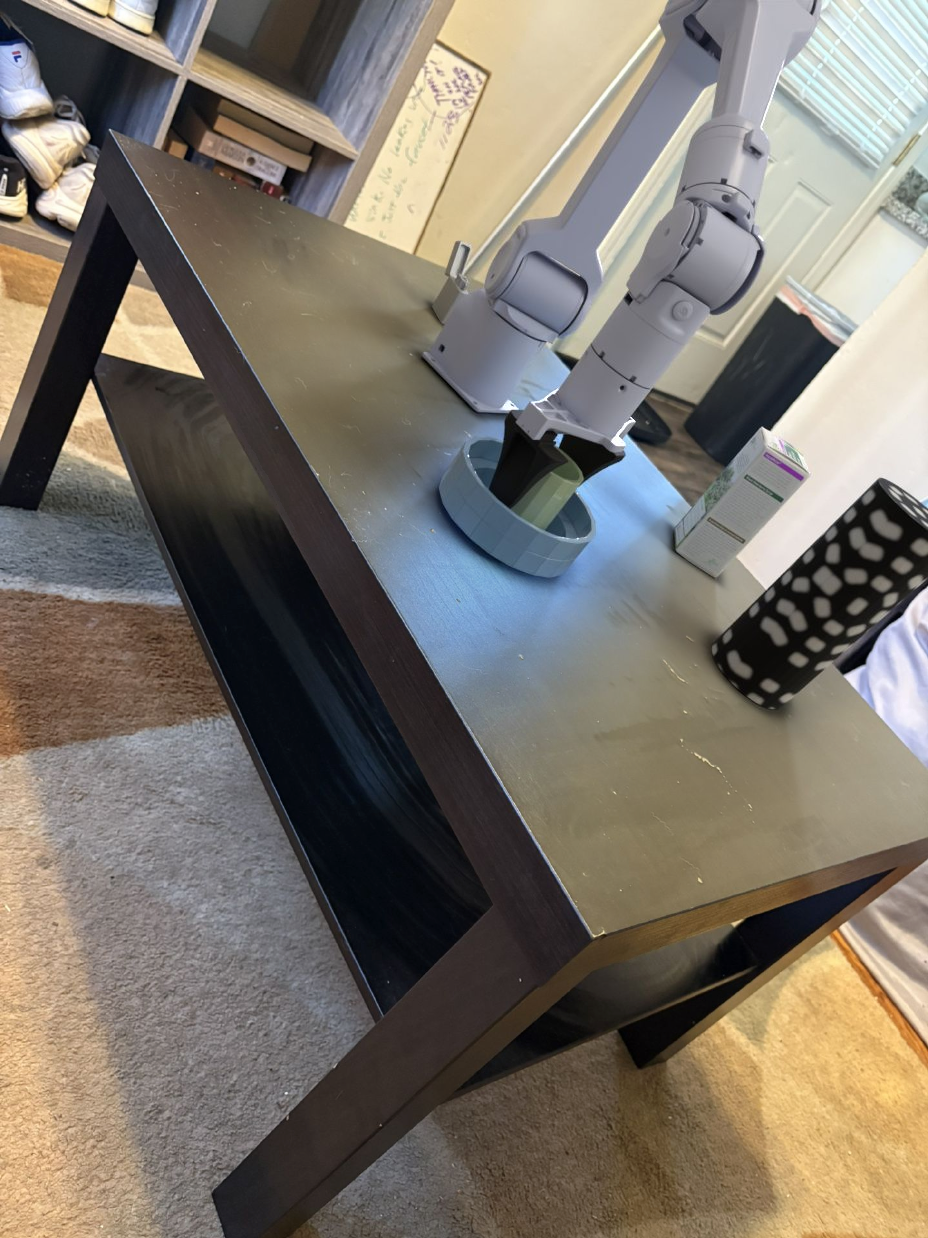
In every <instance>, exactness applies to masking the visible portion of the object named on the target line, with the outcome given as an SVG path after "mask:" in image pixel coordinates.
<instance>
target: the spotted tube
mask: <svg viewBox="0 0 928 1238" xmlns="http://www.w3.org/2000/svg"><path fill="white" fill-rule="evenodd" d="M926 580H928V507H927V506H926V505H924V504H923V503H922V502H921V501H920V500H919V499H917V498H916V497H914V496H913V495H912V494H911V493H909V492H907V490H905V489H903V488H902V487H900V486H899V485H898V484H896V483H894V482H892V481H890V480H889V479H887V478H884V477H878V478H877V479H876V480H875V481H874V482H873V483H872V484H871V485H870V486H869V487H868V488H867V489H866V490H865V491H864V492H863V493H862V494H861V495H860V496H859V497H858V498H857V499H856V500H855V501H854V502H853V503H852V504H851V505H850V506H849V507H848V508H847V509H845V511H844V512H843V513H842V514H841V515H840V516H839V517H838V518H837V519H836V520H835V521H834V522H833V523H832V524H831V525H830V526H829V527H828V528H827V529H826V530H825V531H824V532H822V534H821V535H820V536H819V537H818V538H817V539H816V540H815V541H814V542H813V543H812V544H811V545H810V546H809V547H808V548H807V549H806V550H804V552H803V553H802V554H801V555H800V556H799V557H798V558H797V559H796V560H795V561H794V562H792V563H791V564H790V566H789V567H788V568H786V570H785V571H784V572H782V574H781V575H779V577H778V578H777V579H776V580H774V582H773V583H772V584H770V585H769V586H768V588H766V590H764V592H762V593H761V594H760V595H759V597H757V599H755V600H754V602H752V603H751V604H750V605H749V606H748V607H747V609H745V611H743V612H742V614H740V616H739V617H737V618H736V619H735V620H734V621H733V622H732V623H731V625H729V626H728V627H727V629H725V630H724V632H722V633H721V635H720V636H718V637H717V638H716V639H715V640H714V641H713V643H712V645H711V652H712V656H713V658H714V661H715V663H716V665H717V666H718V668H719V670H720V671H721V672H722V674H723V675H724V677H726V679H727V680H728V681H729V682H730V683H731V684H732V685H733V686H734V687H735V688H736V689H737V690H738V691H739V692H740V693H742V694H743V695H744V696H746V697H747V698H748V699H750V700H751V701H753V702H754V703H756V704H758V705H760V706H762V707H764V708H766V709H769V710H770V709H771V710H779V709H781V708H783V706H785V705H786V704H787V703H788V702H790V700H792V699H793V698H794V697H795V696H796V695H797V694H799V693H800V692H801V691H802V690H803V689H804V688H805V687H807V686H808V685H809V684H810V683H811V682H812V681H813V680H814V679H816V678H817V677H818V676H819V675H820V674H822V673H823V672H824V671H825V670H826V669H827V668H828V667H829V666H830V665H831V664H832V663H834V662H835V661H836V660H838V659H839V657H841V656H842V655H843V654H844V653H846V651H847V650H849V648H851V647H852V646H853V645H854V644H855V643H856V642H857V641H859V640H860V639H861V638H862V637H863V636H864V635H866V633H868V631H870V630H871V629H872V628H873V627H874V626H875V625H877V624H878V623H879V622H880V621H881V620H883V618H884V617H886V616H887V615H888V614H889V613H890V612H891V611H892V610H894V609H895V608H896V607H897V606H898V605H900V603H902V601H904V600H905V599H906V598H907V597H908V596H910V595H911V594H912V593H913V592H914V591H915V590H916V589H917V588H918V587H920V586H921V585H922V584H923V583H924V582H926Z"/></svg>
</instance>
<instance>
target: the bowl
mask: <svg viewBox="0 0 928 1238" xmlns="http://www.w3.org/2000/svg"><path fill="white" fill-rule="evenodd" d="M502 445H503V440H502V439H499V438H496V437H492V436H473V437H472V438H469V439H468V440H466V441H464V443H463V445H462V447H461V448H460V450H459V451H458V453H457V454H456V455H455V457H454V459H453V460H452V461H451V463H450V465H449V466H448V467H447V469H446V471H445V472H444V474H443V475H442V477H441V479H440V483H439V486H438V490H439V494H440V498H441V502H442V504H443V506H444V508H445V510H446V511H447V513H448V514H449V515H448V516H450V518H451V520H453V522H454V523H455V524H456V525H457V526H458V527H459V529H461V531H462V532H463V533H464V534H465V535H466V536H467V537H468V538H469V539H470V540H471V541H472V542H474V543H475V544H476V545H477V546H479V547H480V548H481V549H482V550H484V551H485V552H486V553H487V554H489V555H490V556H492V557H493V558H495V559H496V560H498V561H500V562H501V563H503V564H505V565H507V566H509V567H510V568H513V569H515V570H518V571H519V572H523V573H525V574H528V575H531V576H535V577H540V578H541V577H543V578H550V579H551V578H555V577H559V576H563V575H564V574H565V573H566V572H567V570H568V569H569V568H570V567H571V566H572V565H573V563H574V562H575V561H576V560H577V558H578V557H579V556H580V554H581V553H582V552H583V551H584V550H585V548H586V547H587V546H588V545H589V544H590V543H591V541H592V540H593V539H594V537H595V536H596V535H597V522H596V519H595V518H594V515H593V513H592V511H591V509H590V506H589V505H588V504H587V503H586V501H585V500H584V499H583V497H582V496H581V494H579V492H578V491H577V490H576V491H575V492H574V493H573V494H572V496H571V497H570V498H569V500H568V501H567V502H566V503H565V505H564V506H563V507H562V509H561V510H560V511H559V512H558V514H557V515H556V516H555V518H554V519H553V520H552V522H551V523H550V524H549V525H548V527H547V528H546V529H545V531H544V530H542V529H539V528H537V527H536V526H534V525H533V524H531V523H529V522H528V521H526V520H524V519H523V518H521V517H519V516H518V515H517V514H515V513H514V512H513V511H512V510H510V509H509V508H508V507H507V506H505V505H504V504H503V503H502V502H500V501H499V500H498V499H497V498H496V497H495V496H494V495H493V494H492V493H491V492H490V491H489V486H490V483H491V481H492V478H493V475H494V473H495V470H496V467H497V464H498V461H499V458H500V455H501V451H502Z"/></svg>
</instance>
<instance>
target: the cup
mask: <svg viewBox="0 0 928 1238" xmlns="http://www.w3.org/2000/svg"><path fill="white" fill-rule="evenodd" d="M555 447H556V448H557V449H558V450H559V451H560V452H561V453H562V454H563V455H564V456H565V457H566V458H567V459H568V463H565V464H563V465H562V466H560V467H558V468H556V469H554V470H553V471H551V472H550V473H548V474H547V475H546V476H544V477H543V478H542V479H541V480H539V481H538V482H537V483H536V484H535V485H534V486H533V487H532V488H531V489H530V490H529V491H528V492H527V493H526V494H525V495H524V497H523V498H522V499H521V500H520V501H519V502H518V503H517V504H516V505H515V506H514V507H512V508H511V509H510V510H512V511H513V512H514V513H515V514H517V515H518V516H519V517H521V518H523V519H524V520H526V521H528V522H529V523H531V524H533V525H534V526H536V527H537V528H539V529H542V530H544V531H545V529H546V528H547V527H548V525H549V524H550V523H551V522H552V520H553V519H554V518H555V516H556V515H557V514H558V512H559V511H560V510H561V509H562V507H563V506H564V505H565V503H566V502H567V501H568V500H569V498H570V497H571V496H572V494H573V493H574V492H575V491H577V490H578V488H579V487H580V486H581V485H580V484H581V483H582V481H583V480H584V478H583V474H582V471H581V470H580V469H579V467H578V466H577V464H576V463H575V462H574V461H573V460H572V459H571V458H570V457H569V456H568V455H567V454H566V453H565V452H563V451H562V450H561V449H559V448H558V447H559V446H557V445H555ZM579 485H580V486H579Z"/></svg>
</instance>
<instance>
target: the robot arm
mask: <svg viewBox="0 0 928 1238" xmlns="http://www.w3.org/2000/svg"><path fill="white" fill-rule="evenodd" d="M822 6H823V0H667V3H666V4H665V6H664V10H663V11H662V13H661V15H660V17H659V18H658V24H659V27H660V29H661V32H662V34H663V37H664V39H665V41H664V42H663V45H662V47H661V49H660V51H659V53H658V54H657V56H656V58H655V60H654V62H653V64H652V66H651V68H650V69H649V70H648V72H647V74H646V75H645V77H644V78H643V80H642V82H641V83H640V85H639V87H638V89H637V90H636V92H635V93H634V94H633V97H632V98H631V99H630V101H629V103H628V105H627V106H626V108H625V109H624V110H623V112H622V114H621V116H620V117H619V118H618V120H617V122H616V123H615V125H614V126H613V128H612V129H611V131H610V133H609V135H608V136H607V138H606V139H605V140H604V142H603V144H602V145H601V147H600V149H599V151H598V152H597V154H596V155H595V157H594V158H593V160H592V162H591V163H590V165H588V166H589V167H588V168H587V170H586V171H585V173H584V175H583V176H582V177H581V179H580V181H579V182H578V184H577V185H576V186H575V189H574V190H573V192H572V193H571V195H570V196H569V198H568V200H567V202H566V203H565V205H564V206H563V208H562V209H561V211H560V213H559V214H558V215H556V216H550V217H541V218H532V219H531V218H530V219H525V220H523V221H522V222H521V223H520V224H518V225H517V227H516V228H515V229H514V231H513V233H512V234H511V236H509V238H508V239H507V240H506V241H505V242H504V243H503V244H502V245H501V246H500V248H499V250H498V251H497V252H496V253H495V255H494V257H493V259H492V261H491V263H490V265H489V267H488V270H487V272H486V275H485V278H484V285H483V286H484V288H478V289H477V288H476V289H474V290H472V291H470V292H468V294H467V295H466V296H465V297H464V298H462V299H461V301H460V302H459V303H458V304H457V305H456V307H455V308H454V310H453V311H452V313H451V315H450V316H449V318H448V320H447V321H446V323H445V324H443V326H442V328H441V329H440V332H439V333H438V335H437V337H436V338H435V340H434V342H433V343H432V345H431V347H430V349H429V350H428V351H423V352H422V354H421V357H422V358H423V359H424V360H425V361H426V362H427V363H428V364H429V366H430V367H432V368H433V370H435V371H436V372H437V373H438V374H439V376H441V377H442V379H444V380H445V381H446V382H447V383H448V384H449V385H450V386H451V388H453V390H454V391H455V392H456V393H457V394H458V395H459V396H460V397H461V399H463V400H464V401H465V402H466V403H467V404H468V405H469V407H471V408H472V409H473V410H474V411H475V412H478V413H490V414H491V413H492V414H493V413H494V414H507V415H506V417H505V418H504V424H503V425H504V427H503V445H502V451H501V455H500V458H499V461H498V464H497V467H496V470H495V473H494V475H493V478H492V481H491V483H490V486H489V491H490V492H491V493H492V494H493V495H494V496H495V497H496V498H497V499H498V500H499V501H500V502H502V503H503V504H504V505H505V506H507V507H508V508H509V509H511V508H512V507H514V506H515V505H516V504H517V503H518V502H519V501H520V500H521V499H522V498H523V497H524V495H525V494H526V493H527V492H528V491H529V490H530V489H531V488H532V487H533V486H534V485H535V484H536V483H537V482H538V481H539V480H541V479H542V478H543V477H544V476H546V475H547V474H548V473H550V472H551V471H553V470H554V469H556V468H558V467H560V466H562V465H563V464H565V463H568V459H567V458H566V457H565V456H564V455H563V454H562V453H561V452H560V451H559V450H558V449H557V448H556V447H555V446H556V444H557V440H556V441H555V439H556V438H557V437H558V435H562V437H561V440H560V443H559V446H557V447H558V448H559V449H561V450H562V451H563V452H565V453H566V454H567V455H568V456H569V457H570V458H571V459H572V460H573V461H574V462H575V463H576V464H577V466H578V467H579V469H580V470H581V471H582V474H583V478H584V480H583V481H582V483H581V484H580V485H579V487H581V486H582V485H583V484H584V483H585V482H587V481H588V480H590V479H591V478H592V477H594V476H595V475H597V474H599V473H600V472H601V471H603V470H605V469H607V468H609V467H611V466H614V465H615V464H617V463H620V462H622V461H623V459H625V457H626V456H627V455H626V452H625V450H624V449H625V448H626V446H627V445H626V443H625V442H624V441H623V440H624V438H625V437H626V435H627V434H628V433H629V431H631V429H632V427H633V426H634V425H635V424H636V421H635V419H633V418H632V417H631V416H632V415H633V414H634V412H635V411H636V410H637V408H638V407H639V406H640V405H641V404H642V402H643V401H644V400H645V398H646V397H647V396H648V394H650V392H651V390H652V389H653V388H654V387H655V386H656V385H657V383H658V382H659V381H660V379H661V378H662V377H663V375H664V374H665V373H666V372H667V370H668V369H669V368H670V366H671V365H672V364H673V362H674V361H676V358H677V357H678V356H679V354H680V353H681V352H682V350H683V349H684V348H685V347H686V345H687V344H688V343H689V342H690V340H691V339H692V338H693V336H694V335H695V334H696V332H697V331H698V330H699V329H700V327H701V326H702V325H703V323H705V321H706V320H707V319H708V318H709V315H711V316H720V315H722V314H725V313H726V312H728V311H730V310H731V309H732V308H734V307H735V306H737V304H738V303H739V302H740V301H741V300H742V299H743V298H744V297H745V296H746V295H747V293H748V292H749V291H750V289H751V288H752V287H753V285H754V283H755V282H756V280H757V278H758V276H759V274H760V271H761V270H762V266H763V263H764V261H765V257H766V255H767V245H766V244H767V243H766V242H765V240H764V239H763V237H761V236H760V234H761V229H762V228H761V227H760V226H759V225H758V224H757V223H756V221H755V218H756V213H757V209H758V205H759V201H760V197H761V192H762V188H763V184H764V180H765V176H766V172H767V167H768V164H769V159H770V154H771V142H770V140H769V136H768V135H767V133H766V132H765V130H764V129H763V128H762V126H763V123H764V121H765V117H766V114H767V112H768V109H769V106H770V104H771V100H772V98H773V95H774V92H775V89H776V86H777V84H778V81H779V78H780V75H781V72H782V70H784V68H786V67H787V66H788V65H789V64H790V63H791V62H792V61H793V60H794V59H795V58H796V57H797V56H798V55H799V54H800V53H801V51H802V50H803V49H804V47H805V46H806V45H807V44H808V42H809V40H810V39H811V37H812V35H813V34H814V31H815V30H816V28H817V26H818V24H819V21H820V17H821V12H822ZM715 84H716V86H715V92H714V99H713V105H712V111H711V117H710V119H709V120H708V121H706V122H704V123H703V124H701V125H700V126H699V127H698V128H697V129H696V130H695V131H694V132H693V134H692V136H691V138H690V139H689V145H688V149H687V152H686V156H685V159H684V162H683V167H682V171H681V174H680V178H679V182H678V186H677V189H676V193H675V197H674V201H673V204H672V208H671V209H670V210H669V211H667V213H666V214H665V215H664V216H663V217H662V219H661V220H659V221H658V222H657V223H656V225H655V226H654V228H653V230H652V232H651V234H650V236H649V237H648V239H647V242H646V244H645V246H644V250H643V252H642V254H641V257H640V259H639V261H638V262H637V264H636V266H635V267H634V268H633V270H632V271H631V273H630V274H629V276H628V277H629V278H628V279H627V281H626V288H627V291H626V293H625V294H624V296H623V297H622V299H621V300H620V302H618V304H617V306H616V307H615V309H613V311H612V312H611V314H610V315H609V317H608V318H607V319H606V321H605V323H604V324H603V325H602V326H601V328H600V330H599V331H598V333H597V334H596V336H595V337H594V338H593V339H592V342H590V344H589V345H588V347H587V348H586V349H585V351H584V352H583V354H582V355H581V357H580V358H579V360H578V361H577V363H576V364H575V365H574V366H573V368H572V370H571V371H570V372H569V373H568V375H567V377H566V378H565V379H564V381H563V383H562V384H561V385H560V386H559V387H557V388H555V389H553V390H552V391H550V392H549V393H547V394H546V395H545V396H543V397H542V398H541V399H539V400H537V401H529V402H528V403H527V405H526V406H525V408H524V409H519V408H518V407H517V406H516V405H515V404H514V403H513V402H512V401H511V400H510V397H511V396H512V394H513V393H514V392H515V390H516V388H517V387H518V385H519V384H520V383H521V381H522V380H523V378H524V377H525V375H526V374H527V372H528V371H529V369H530V368H531V366H532V365H533V363H534V362H535V360H536V359H537V358H538V356H539V355H540V353H541V351H542V350H543V349H544V347H545V345H546V344H547V343H549V344H550V345H553V344H554V342H555V341H556V340H557V339H564V338H566V337H569V336H571V335H572V334H574V333H575V332H576V331H577V330H578V329H579V328H580V326H581V325H582V324H583V322H584V321H585V320H586V318H587V316H588V314H589V312H590V310H591V307H592V305H593V302H594V300H595V298H596V296H597V294H598V293H599V291H600V290H601V287H602V285H603V284H604V270H603V266H602V263H601V259H600V256H599V255H600V254H599V251H598V249H599V248H600V246H601V244H602V243H603V241H604V240H605V238H606V237H607V235H608V234H609V232H610V231H611V229H612V228H613V226H614V225H615V223H616V222H617V220H618V219H619V218H620V216H621V214H622V213H623V211H624V210H625V208H626V207H627V205H629V202H630V201H631V199H632V198H633V197H634V195H635V193H637V191H638V189H639V187H640V186H641V184H642V183H643V181H644V180H645V178H646V177H647V176H648V174H649V172H650V171H651V170H652V168H653V167H654V165H655V164H656V162H657V160H658V159H659V157H660V156H661V155H662V153H663V152H664V150H665V148H666V147H667V145H668V144H669V143H670V141H671V140H672V138H673V136H674V135H675V133H676V132H677V131H678V129H679V128H680V126H681V124H682V123H683V121H684V120H685V119H686V117H687V116H688V114H689V112H690V111H691V109H692V108H693V106H694V105H695V104H696V102H697V100H698V99H699V97H700V96H701V94H702V93H703V92H704V90H705V89H707V88H708V87H710V86H713V85H715Z"/></svg>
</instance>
